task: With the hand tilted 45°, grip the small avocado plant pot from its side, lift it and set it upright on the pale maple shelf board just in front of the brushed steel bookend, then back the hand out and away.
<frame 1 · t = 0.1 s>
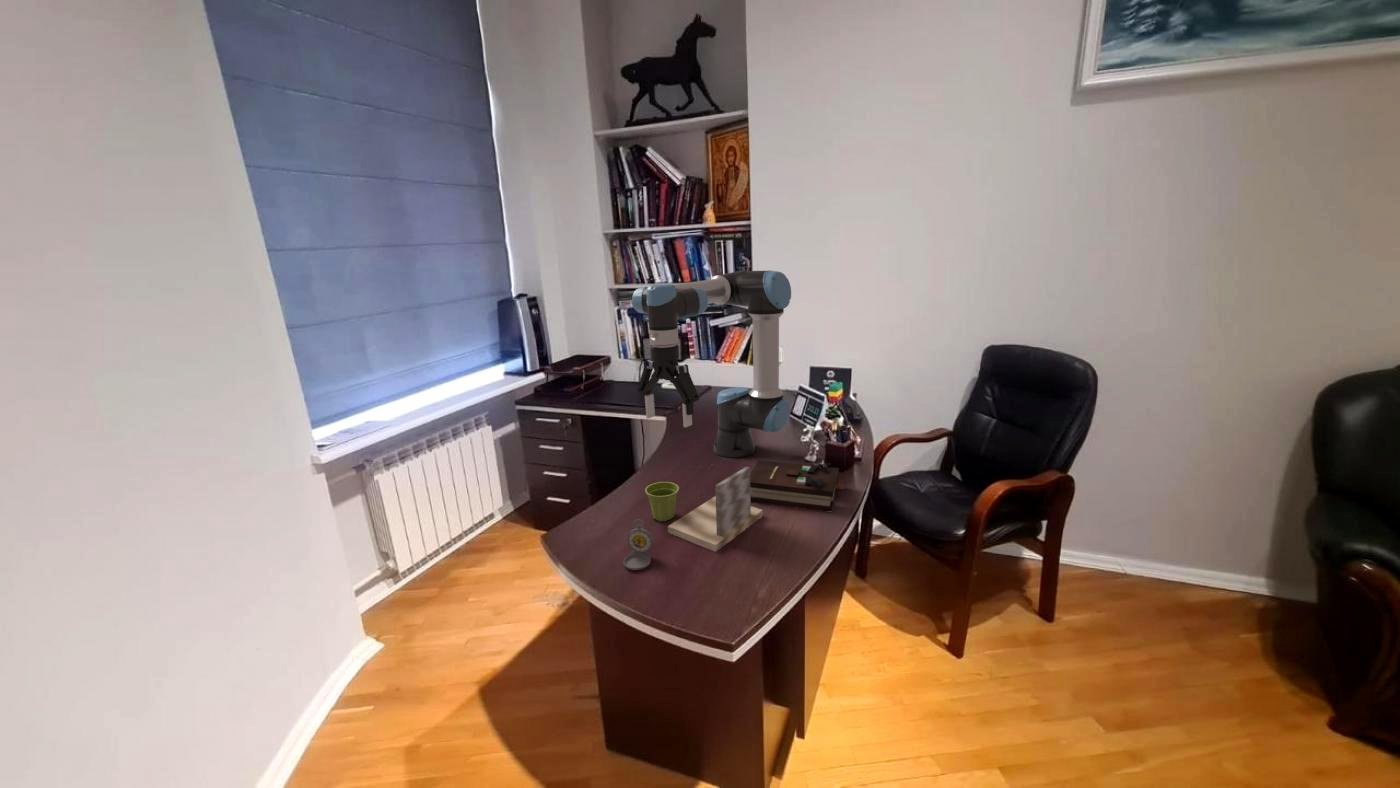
hand: (668, 421, 148), 28 cm above the table, tool pointing down, fingers open, 13 cm apart
decorative book: (792, 495, 166), on the table
shelf board: (716, 524, 150), on the table
pocket watch: (639, 561, 134), on the table
plant pot: (663, 517, 155), on the table
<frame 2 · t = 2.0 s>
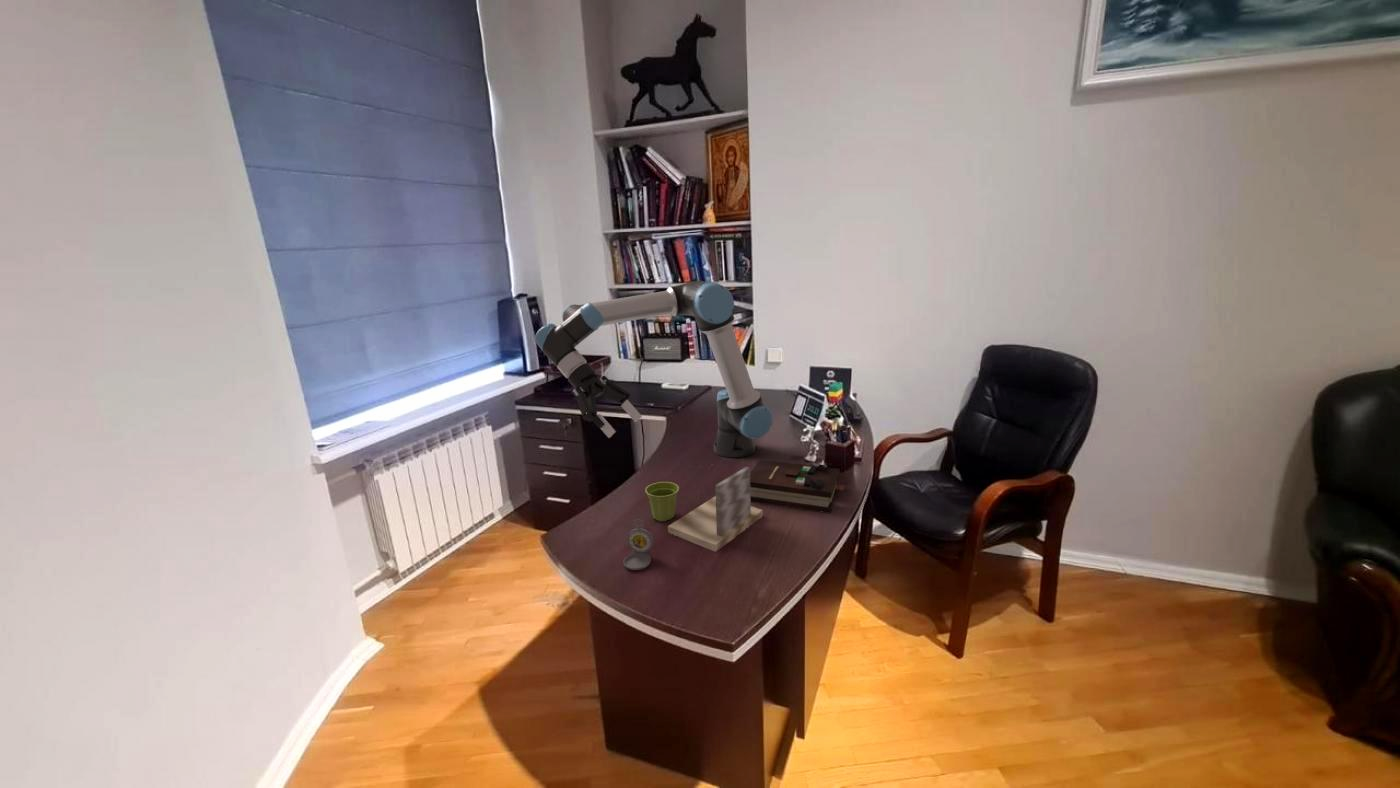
hand: (626, 426, 152), 26 cm above the table, tool tilted 45°, fingers open, 13 cm apart
nothing on the table moved.
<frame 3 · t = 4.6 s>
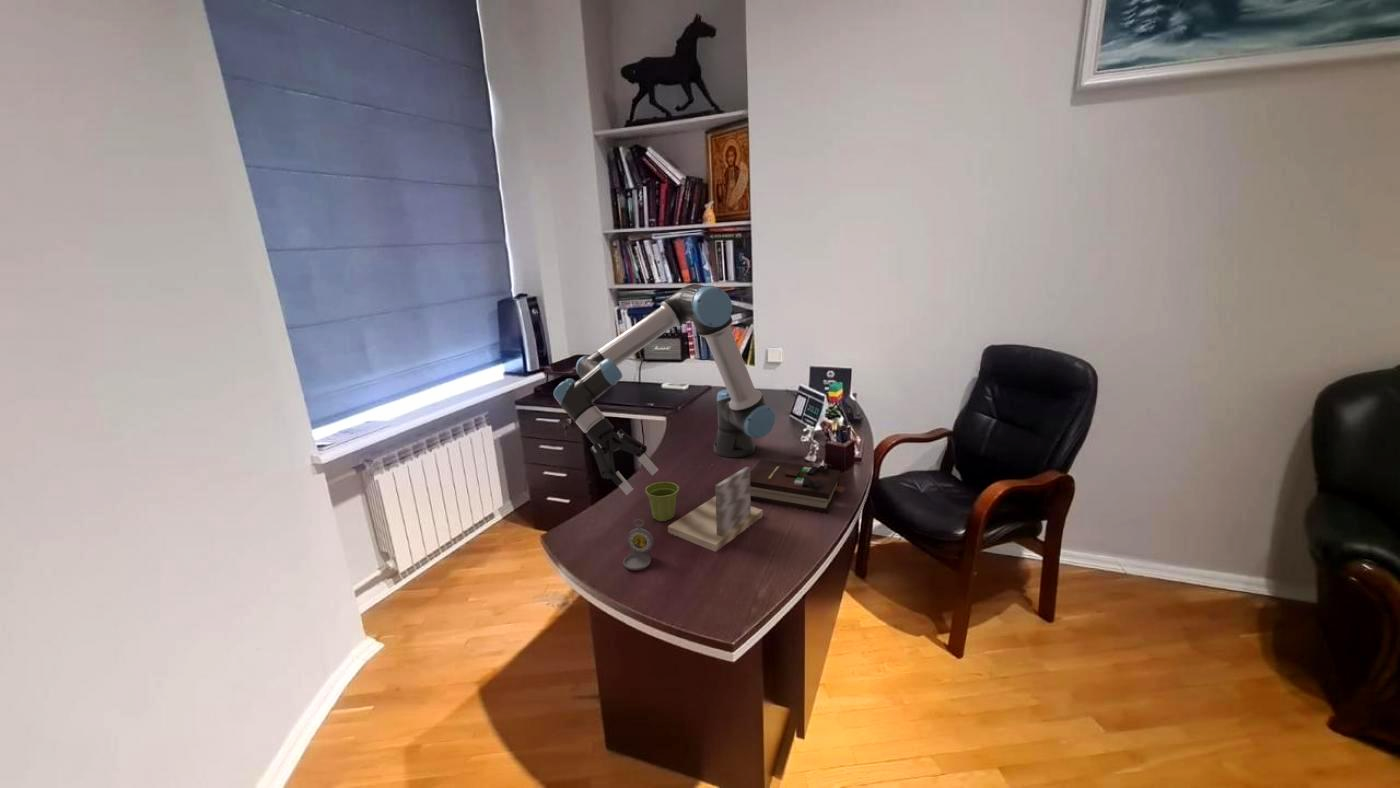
hand: (643, 482, 154), 10 cm above the table, tool tilted 45°, fingers open, 13 cm apart
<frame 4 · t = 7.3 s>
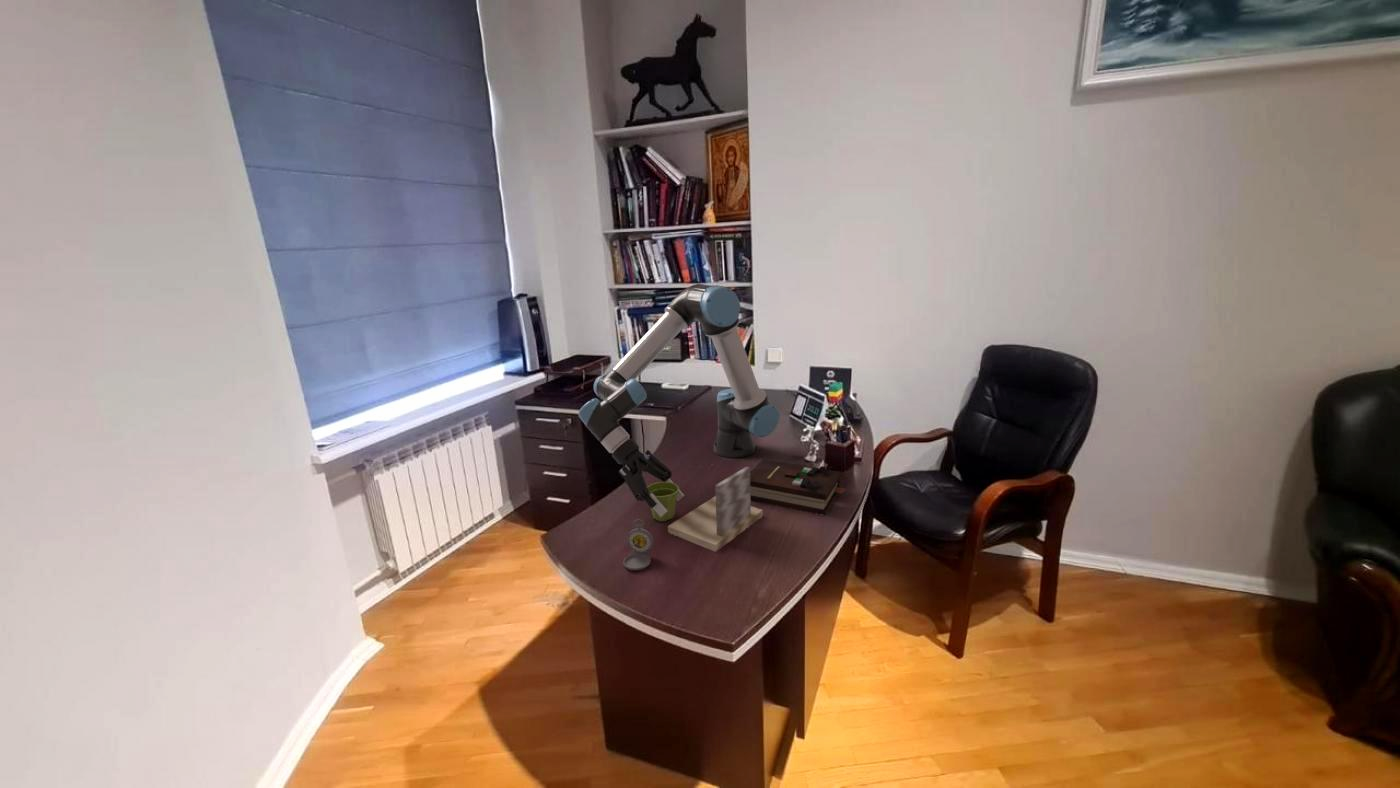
hand: (672, 506, 153), 4 cm above the table, tool tilted 45°, fingers closed on plant pot, 9 cm apart
plant pot: (663, 517, 155), on the table, touching gripper
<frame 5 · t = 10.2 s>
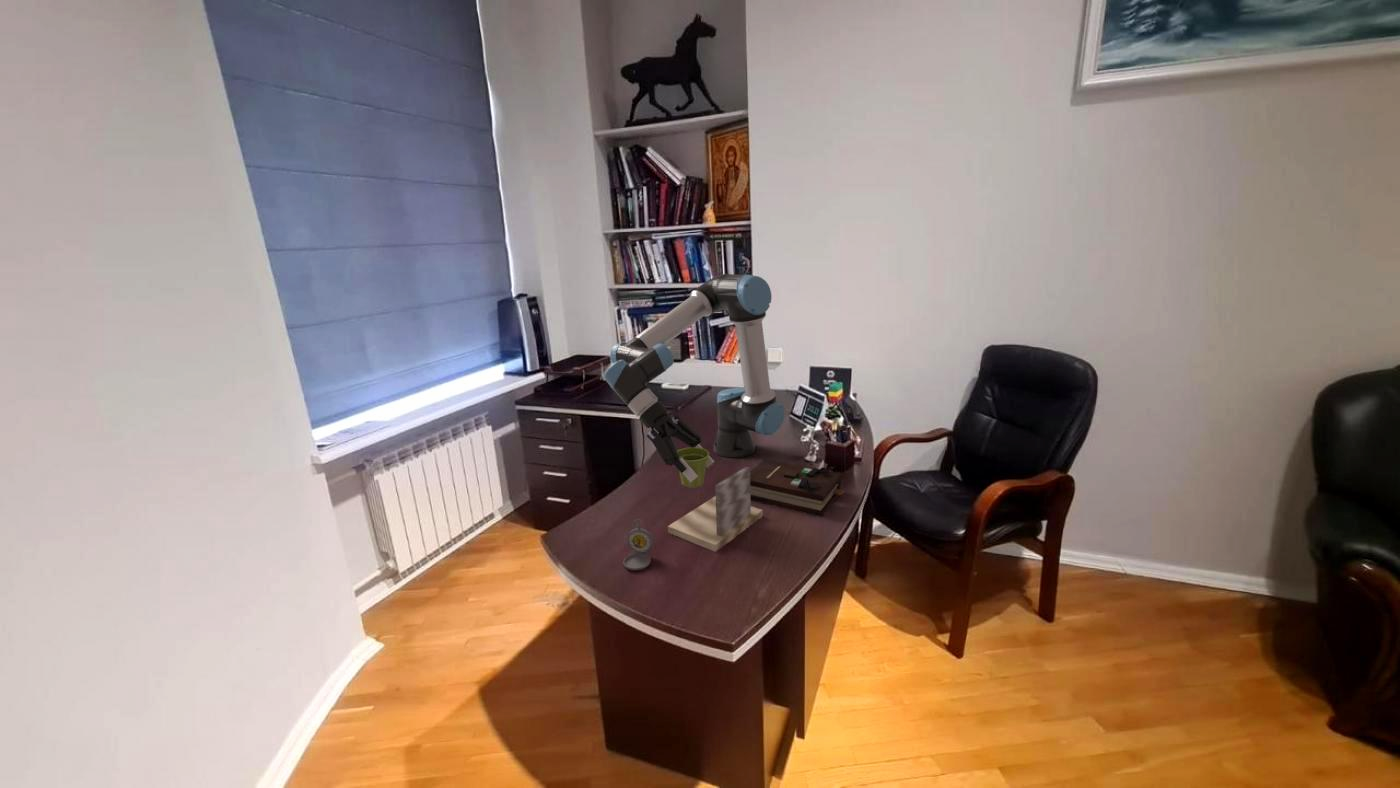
hand: (702, 471, 146), 16 cm above the table, tool tilted 45°, fingers closed on plant pot, 9 cm apart
plant pot: (692, 483, 148), point 11 cm above the table, touching gripper
when the fingers open (8 cm above the table, at t = 13.5 s): plant pot drops 2 cm, resting on shelf board.
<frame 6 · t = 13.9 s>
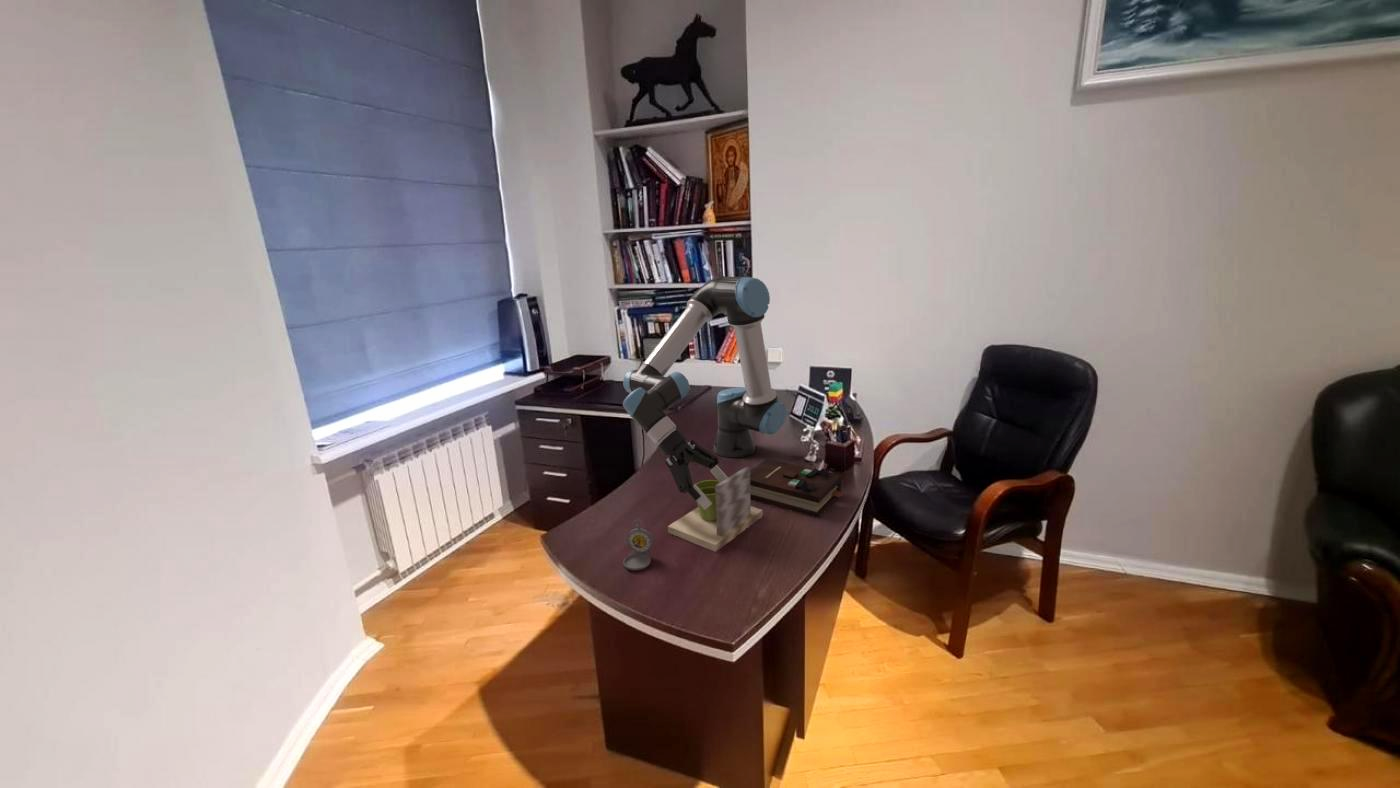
hand: (719, 495, 147), 9 cm above the table, tool tilted 45°, fingers open, 13 cm apart
plant pot: (711, 516, 150), point 2 cm above the table, touching shelf board
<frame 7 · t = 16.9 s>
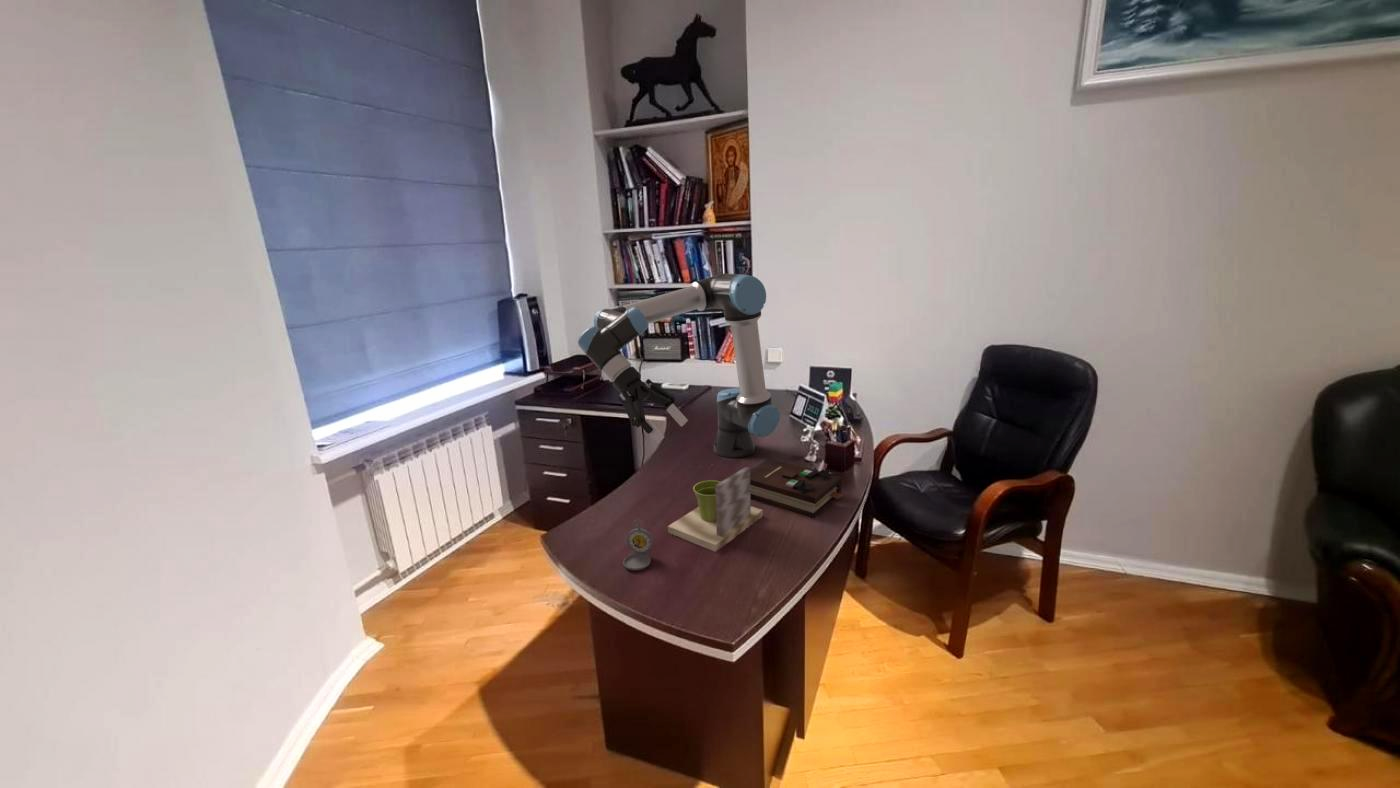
hand: (673, 431, 148), 25 cm above the table, tool tilted 45°, fingers open, 13 cm apart
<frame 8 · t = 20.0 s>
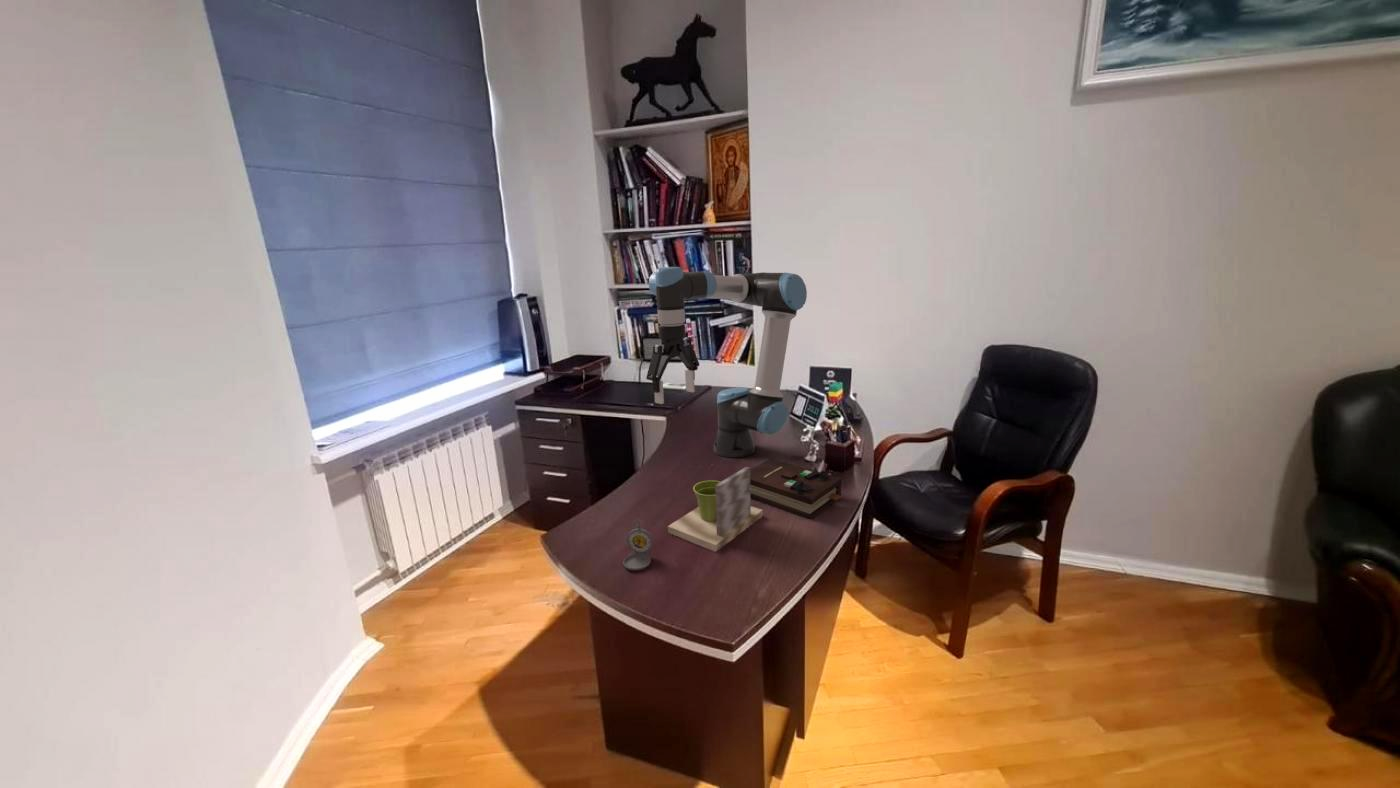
hand: (675, 397, 158), 32 cm above the table, tool pointing down, fingers open, 13 cm apart
at the end: plant pot inside the target area on the shelf board (0.1 cm from its centre), point 1.8 cm above the shelf board's base; plant pot tilted 0°; the gripper is holding nothing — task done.
